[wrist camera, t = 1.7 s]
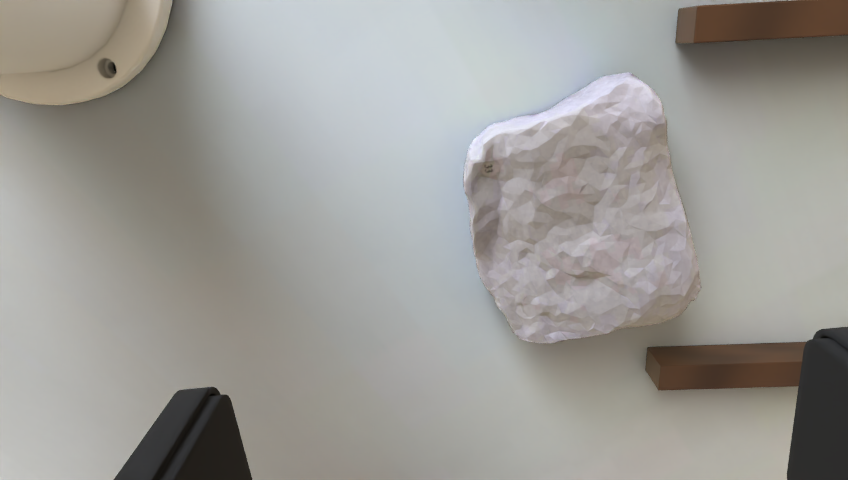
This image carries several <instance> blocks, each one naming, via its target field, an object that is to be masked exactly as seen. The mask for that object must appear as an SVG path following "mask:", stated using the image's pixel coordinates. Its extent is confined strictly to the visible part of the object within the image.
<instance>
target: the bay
mask: <svg viewBox="0 0 848 480" xmlns="http://www.w3.org/2000/svg"><path fill="white" fill-rule="evenodd" d="M842 35H848V0H794V1H775V2H757V3H739V4H721V5H702V6H693V7H687V8H681V9H679V10H678V20H677V31H676V43H709V42H728V41H747V40H766V39H785V38H804V37H823V36H842ZM806 343H807V342H791V343H761V344H731V345H701V346H671V347H648V348H647V358H646V369H645V370H646V372H647V373H648V375H649V376H650V378H651V380H652V381H653V383H654V384H655V386H656V387H657V389H658V390H687V389H720V388H752V387H784V386H799V380H800V373H801V366H802V358H803V351H804V346H805V344H806Z"/></svg>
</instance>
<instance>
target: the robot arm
mask: <svg viewBox="0 0 848 480" xmlns="http://www.w3.org/2000/svg"><path fill="white" fill-rule="evenodd" d="M171 6H172V0H0V95H2V96H4V97H7V98H10V99H14V100H18V101H22V102H27V103H31V104H41V105H65V104H73V103H81V102H85V101H89V100H92V99H96V98H100V97H104V96H106V95H108V94H109V93H111V92H113V91H115V90H117V89H119V88H121V87H123V86H125V85H126V84H127V83H128V82H129V81H130V80H132V79H133V78H134V77H135V76H136V75H137V74H139V73H140V72H141V71H142V70H143V68H144V67H145V66H146V64H147V63H148V62H149V60H150V59H151V58H152V56H153V55H154V54H155V52H156V51H157V48H158V46H159V44H160V42H161V40H162V37H163V35H164V33H165V31H166V28H167V24H168V20H169V15H170V11H171ZM113 64H115V66H116V72H115V71H114V69H113ZM114 480H252V477H251V473H250V469H249V466H248V462H247V458H246V454H245V451H244V447H243V443H242V439H241V436H240V432H239V428H238V425H237V421H236V417H235V413H234V410H233V406H232V402H231V400H230V398H229V396H228V395H220V392H219V391H218V390H217V388H215V387H206V388H196V389H185V390H179V391H177V392H176V393H175V394H174V396H173V397H172V399H171V400H170V401H169V403H168V404H167V406H166V407H165V408H164V410H163V411H162V413H161V414H160V415H159V417H158V418H157V420H156V421H155V422H154V424H153V425H152V427H151V428H150V430H149V431H148V432H147V434H146V435H145V437H144V438H143V439H142V441H141V442H140V444H139V445H138V446H137V448H136V449H135V451H134V452H133V453H132V455H131V456H130V458H129V459H128V461H127V462H126V463H125V465H124V466H123V468H122V469H121V470H120V472H119V473H118V475H117V476H116V477H115V479H114ZM787 480H848V327H840V328H830V329H821V330H819V331H817V332H816V334H815V335H814V337H813V339H812V340H809V341H807V343H806V344H805V346H804V351H803V358H802V366H801V373H800V380H799V388H798V395H797V403H796V410H795V418H794V425H793V433H792V440H791V447H790V455H789V462H788V470H787Z"/></svg>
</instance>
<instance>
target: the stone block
mask: <svg viewBox="0 0 848 480" xmlns="http://www.w3.org/2000/svg"><path fill="white" fill-rule="evenodd" d="M463 185H464V189H465V194H466V196H467V198H468V204H469V212H470V232H471V235H472V240H473V250H474V255H475V257H476V264H477V268H478V273H479V276H480V279H481V280H482V282H483V284H484V285H485V287H486V288H487V290H488V291H489V292H490V294H491V295H492V296H493V297H494V299H495V303H496V305H497V307H498V308H499V309H500V310H501V311H502V312H503V314H504V315H505V317H506V319H507V321H508V323H509V325H510V327H511V330H512V332H513V333H515V334H516V335H517V337H519V338H520V339H522V340H525V341H529V342H531V341H532V342H534V343H543V344H546V343H556V342H559V341H564V340H570V339H577V338H584V337H591V336H596V335H601V334H608V333H611V332H613V331H615V330H618V329H622V328H625V327H642V326H647V325H654V324H658V323H663V322H665V321H668V320H670V319H672V318H674V317H677V316H679V315H680V314H681V313H682V312H683V311H684V310H685V309H686V308H687V306H688V304H689V302H690V301H694V300H695V299H696V297H697V294H698V292H699V290H700V289H701V285H700V277H699V266H698V260H697V255H696V252H695V248H694V245H693V241H692V235H691V231H690V227H689V224H688V220H687V217H686V213H685V210H684V207H683V204H682V201H681V199H680V196H679V193H678V190H677V186H676V183H675V179H674V175H673V171H672V167H671V158H670V153H669V150H668V146H667V121H666V118H665V114H664V109H663V106H662V102H661V100H660V99H659V97H658V96H657V94H656V92H655V91H654V90H653V89H652V88H651V87H650V86H648V85H647V84H645V83H643V82H642V81H641V80H640V79H639V78H637V77H636V76H635V75H633V74H632V73H630V72H629V73H620V74H615V75H607V76H603V77H601V78H599V79H597V80H595V81H593V82H592V83H590V84H588V85H587V86H586V87H585V88H583V89H581V90H579V91H577V92H575V93H574V94H572V95H570V96H568V97H566V98H565V99H563V100H562V101H560V102H559V103H558V104H556V105H555V106H553V107H552V108H550V109H548V110H546V111H544V112H542V113H538V114H533V115H527V116H519V117H515V118H512V119H509V120H507V121H504V122H497V123H494V124H491V125H489V126H488V127H486V128H485V130H484V131H483V132H482V133H481V134H479V135H478V136H477V137H475V138H474V140H473V141H472V142H471V145H470V147H469V149H468V150H467V158H466V161H465V165H464V177H463Z"/></svg>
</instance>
